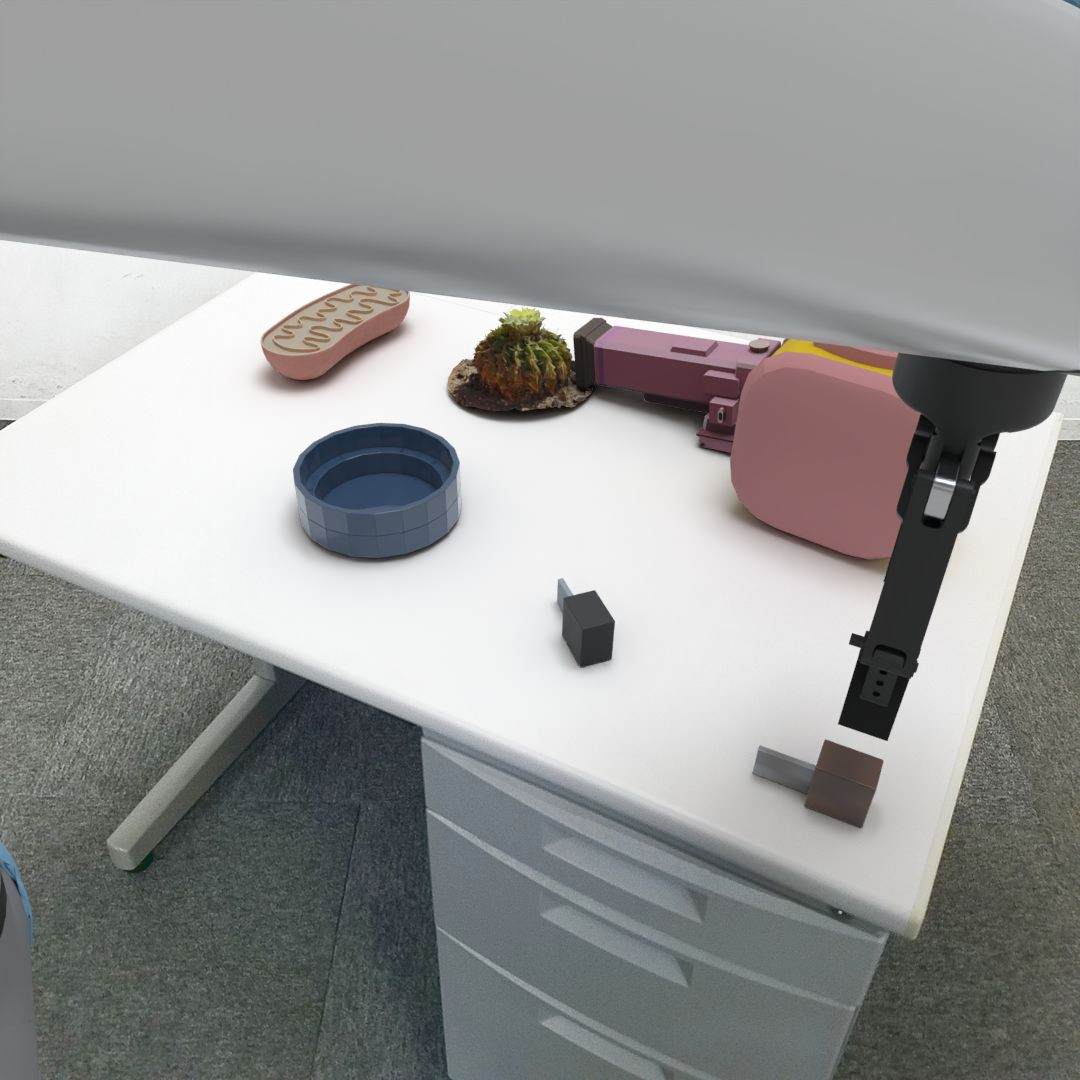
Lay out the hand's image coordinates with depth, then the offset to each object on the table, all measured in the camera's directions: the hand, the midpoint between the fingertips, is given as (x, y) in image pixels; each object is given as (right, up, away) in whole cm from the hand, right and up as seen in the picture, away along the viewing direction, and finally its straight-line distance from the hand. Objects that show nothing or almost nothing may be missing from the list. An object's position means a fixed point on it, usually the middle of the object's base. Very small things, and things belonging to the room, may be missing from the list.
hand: (886, 650), depth 58 cm
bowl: (-36, +9, +35) cm, 51 cm away
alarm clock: (+7, +8, +35) cm, 37 cm away
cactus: (-23, +24, +55) cm, 64 cm away
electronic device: (-5, +21, +50) cm, 54 cm away
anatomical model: (-46, +30, +61) cm, 82 cm away
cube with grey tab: (-18, -1, +22) cm, 28 cm away
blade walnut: (-2, -11, +10) cm, 15 cm away
